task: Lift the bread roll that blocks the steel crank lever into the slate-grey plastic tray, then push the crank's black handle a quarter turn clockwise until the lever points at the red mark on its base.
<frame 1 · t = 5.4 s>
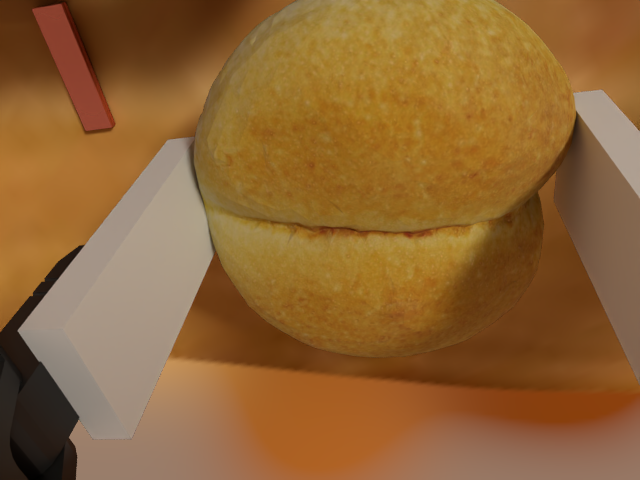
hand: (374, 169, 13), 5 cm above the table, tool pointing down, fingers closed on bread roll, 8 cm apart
bread roll: (379, 165, 14), point 4 cm above the table, touching gripper
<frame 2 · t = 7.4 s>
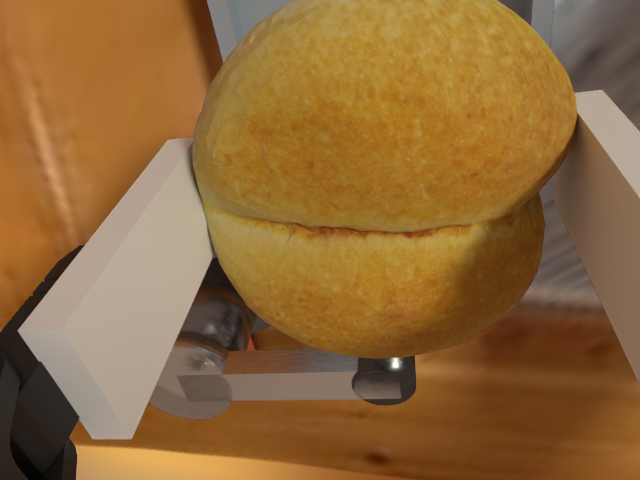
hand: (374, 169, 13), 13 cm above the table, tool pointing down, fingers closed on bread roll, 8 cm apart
tray: (379, 23, 23), on the table
crank hub: (225, 279, 33), on the table
crank: (282, 331, 29), point 5 cm above the table, hinge at 90.0°
bread roll: (379, 165, 13), point 12 cm above the table, touching gripper
when the fingers open (2 cm above the table, at t = 9.6 s): bread roll stays where it is, resting on tray.
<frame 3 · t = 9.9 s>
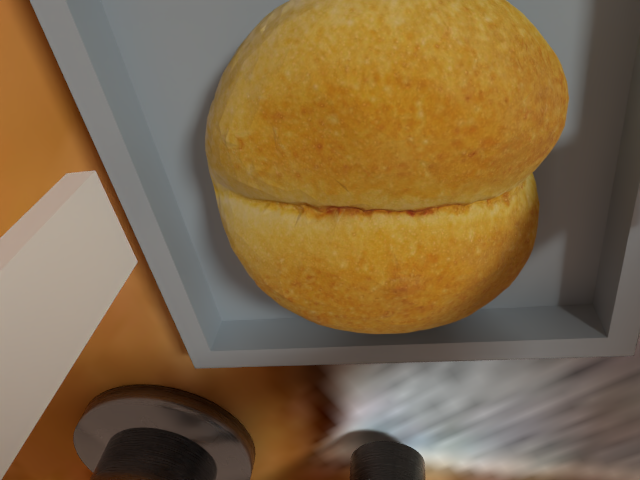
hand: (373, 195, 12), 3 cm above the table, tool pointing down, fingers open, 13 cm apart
tray: (376, 136, 14), on the table
crank hub: (169, 441, 24), on the table
bread roll: (381, 151, 14), resting on tray
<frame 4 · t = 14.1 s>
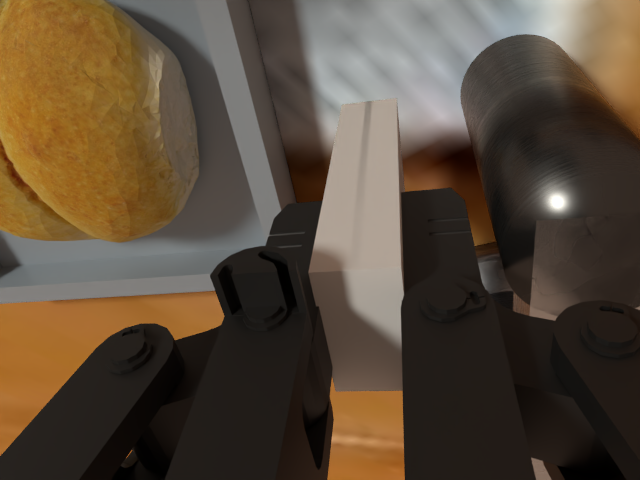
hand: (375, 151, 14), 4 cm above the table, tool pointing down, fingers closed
tray: (73, 105, 18), on the table
crank hub: (502, 321, 21), on the table
crank: (532, 326, 15), point 5 cm above the table, hinge at 89.8°, touching gripper
bread roll: (77, 105, 17), resting on tray
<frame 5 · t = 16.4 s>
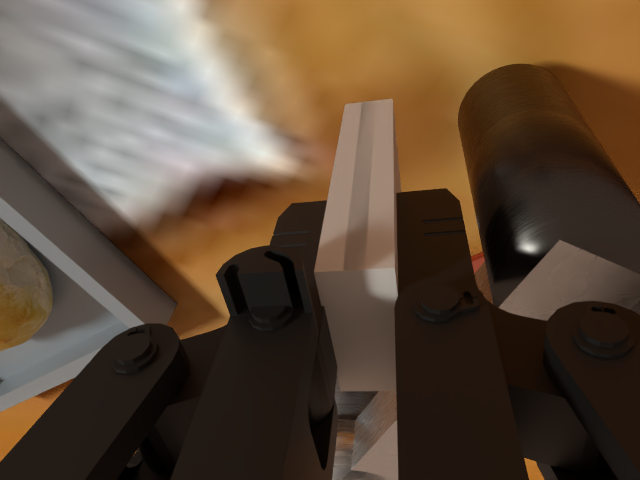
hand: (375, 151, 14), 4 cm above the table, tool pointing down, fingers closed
crank hub: (366, 309, 22), on the table
crank: (422, 326, 16), point 5 cm above the table, hinge at 33.0°, touching gripper
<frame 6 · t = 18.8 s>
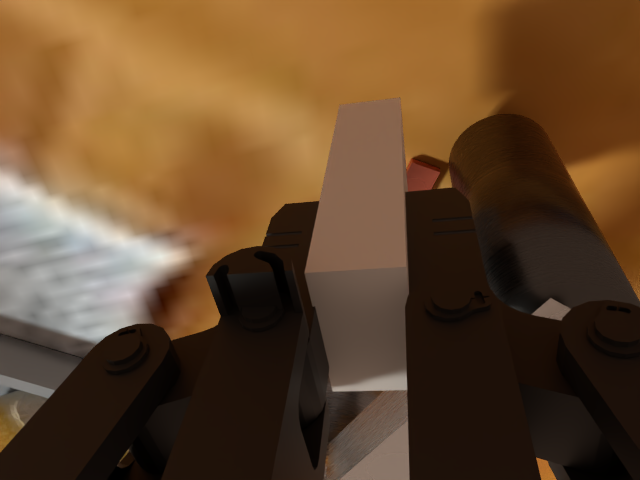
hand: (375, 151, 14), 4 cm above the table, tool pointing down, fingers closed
tray: (72, 431, 30), on the table
crank hub: (339, 328, 22), on the table
crank: (400, 355, 16), point 5 cm above the table, hinge at -10.1°
bread roll: (63, 429, 29), resting on tray
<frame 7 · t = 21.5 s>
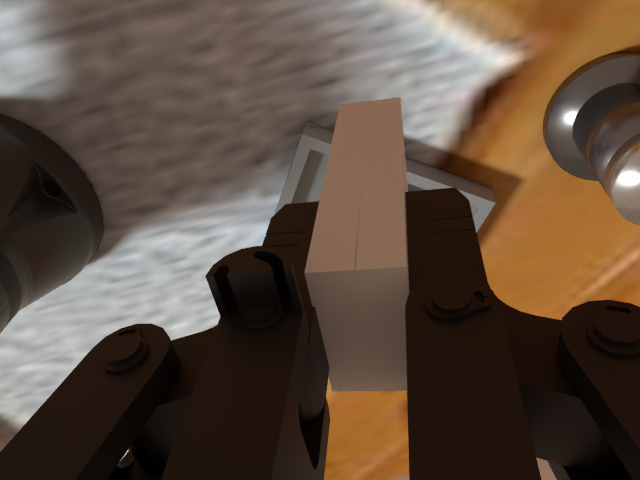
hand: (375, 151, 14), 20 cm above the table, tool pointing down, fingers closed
tray: (364, 230, 40), on the table
crank hub: (611, 116, 33), on the table
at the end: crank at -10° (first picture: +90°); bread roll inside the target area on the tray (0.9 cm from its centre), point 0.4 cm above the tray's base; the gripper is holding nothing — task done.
